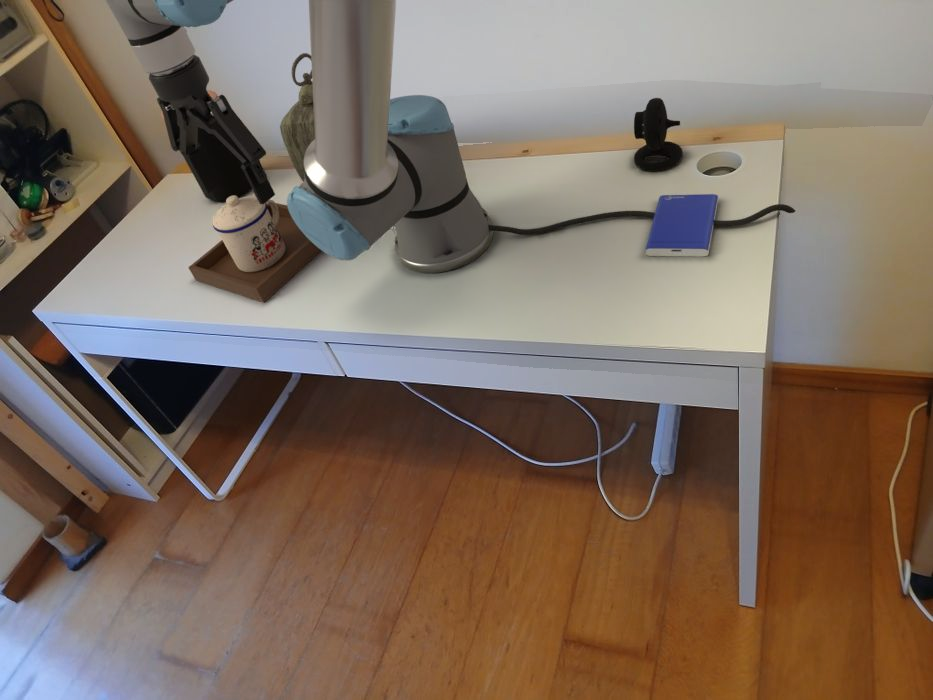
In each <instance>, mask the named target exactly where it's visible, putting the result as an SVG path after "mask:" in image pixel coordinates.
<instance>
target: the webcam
mask: <svg viewBox="0 0 933 700" xmlns="http://www.w3.org/2000/svg"><path fill="white" fill-rule="evenodd" d="M679 126H681V120H673V119H669V118H668V112H667V108H666V104H665V102H664V100H663V98H661V97H654V98H651V99H649V100H648V102H647V104H646V106H645V109H644V110H642V111H636V112H635V114H634V118H633V133H634V138H635V139H636V140H644V141H645V145H643V146H641V147H640V148H638V149H637V150H636V152H635V153H634V156H633V162H634V164H635V166H636V167H638V168H639V169H641V170H643V171H646V172H661V171H666V170H669V169H672V168H673V167H675V166H677V164H679V163H680V162H681V160H682V159H683V149H682V147H681V145H679V144H677V143H675V142H673V141H667V139H666V138H667V134H668V129H669V128H673V127H679ZM650 157H651V158H652V157H665V158H666V159H663V160H660V161H649V160H646V159H647V158H650Z"/></svg>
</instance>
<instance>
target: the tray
mask: <svg viewBox="0 0 933 700" xmlns="http://www.w3.org/2000/svg"><path fill="white" fill-rule="evenodd" d="M275 203H276V204H277V206H278V209H279V222H278V225H277V226H276V227H277V229H278V232H279V234H280V236H281V238H282V240H283V242H284V244H285V253H284V255H283V256H282V257H281V259H280V260H279V261H278V262H276V263H275V264H274V265H272V266H270V267H268V268H266V269H264V270H261V271H257V272H244V271H241V270H240V269H239V268H238V267H237V266H236V264H235V262H234V260H233V258H232V257H231V255H230V253H229V251H228V249H227V248H226V246H225V244H224V242H223V240H222V239H221V240H220V241H219V242H218V243H216V244H215V245H214V246H213V247H211V248H210V249H209V250H208V251H206V252H205V253H204V254H203V255H202V256H200V257H199V258H198V259H197V260H196V261H194V262H193V263H191V265H189V266H188V270H189V271H190V273H191V275H192V277H193V278H194V280H195V281H196V282H200V283H203V284H205V285H208V286H212V287H215V288H218V289H220V290H224V291H227V292H230V293H233V294H236V295H240V296H242V297H245V298H248V299H251V300H254V301H257V302H260V303H263V304H264V303H265V302H267V301H268V300H269V299H270V298H271V297H273V295H275V293H277V292H278V291H279V290H280V289H281V288H282V287H283V286H284V285H285V284H287V283H288V282H289V281H290V280H291V279H292V278H293V277H294V276H295V275H296V274H298V273H299V272H300V271H301V270H302V269H303V268H304V267H305V266H306V265H307V264H308V263H310V262H311V261H312V260H313V259H314V258H315V257H317V256H318V255H319V253H321V252H323V251H322V250H321V249H319V248H318V247H317V246H316V245H314V244H313V243H312V242H311V241H310V240H309V239H308V238H307V237H306V236H305V235H304V233H303V232H302V231H301V230H300V229H299V227H298V226H297V225H296V223H295V222H294V220H293V218H292V217H291V215H290V212H289V210H288V206H287V204H283V203H278V202H275ZM267 209H268V211H269V213H270V215H271V217H272V218H273V213H272V209H271V207H270V205H269V204H268V205H267Z"/></svg>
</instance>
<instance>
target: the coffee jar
mask: <svg viewBox="0 0 933 700" xmlns="http://www.w3.org/2000/svg"><path fill="white" fill-rule="evenodd" d="M206 90H207V89H206ZM207 92H208V93H209V95H210V96H211V97H212V98H213V99H214V98H217V97H218V96H219V95H218V93H217V92H216V91H215V90H211V89H208V90H207ZM223 114H224V113H223ZM160 116H161V118H162V120H163V122H165V120H164V116H163V112H162V111H161V113H160ZM215 121H216V118H215ZM179 139H180V138H178V139H177V141H178V140H179ZM197 142H198V143H199V144H198V145H200V146H199V147H197V148H196V149H195V150H198V149H202V150H203V152H204V154H205V156H206V158H207V159H208V161H209V163H210V165H211V167H212V169H213V171H214V173H215V174H216V176H217V178H218V180H219V182H220V185H219V186H218V187H217V188H215V189H214V190H213V191H211V192H210V193H206V192H205V190H204V189H203V187H202V185H201V183H200V181H199V180H198V178H197V176H196V174H195V172H194V171H193V169H192V167H191V165H190V163H189V162H188V160H187V158H186V156H183V155H182V157H183V159H184V161H185V162H186V164H187V166H188V168H189V169H190V171H191V173H192V175H193V176H194V179H195V181H196V183H197V184H198V186H199V188H200V190H201V192H202V194H203V195H204V197H205V198H206V199H208V200H210V201H212V202H214V203H226V199H227V198H228V197H230V196H233V195H235V196H237V197H238V198H242V197H243V196H244V195H245V194H248V192H249V191H250V190H252V187H251V185H250V183H249V181H248V179H247V177H246V175H245V173H244V171H243V169H242V168H241V166H242V164H243V163H242V162H241V161H240V160H239V159H238V158H237V157H236V156H235V155H234V154H233V153H232V152H231V151H230V150H229V149H228V148H227V147H226V146H225V145H224V144H223V143H222V142H221V141H220V140H219V139H218V138H217V137H216V136H215V135H214V134H209V133H208V132H207V131H205V130H204V129H202V128H199V127H198V133H197Z"/></svg>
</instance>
